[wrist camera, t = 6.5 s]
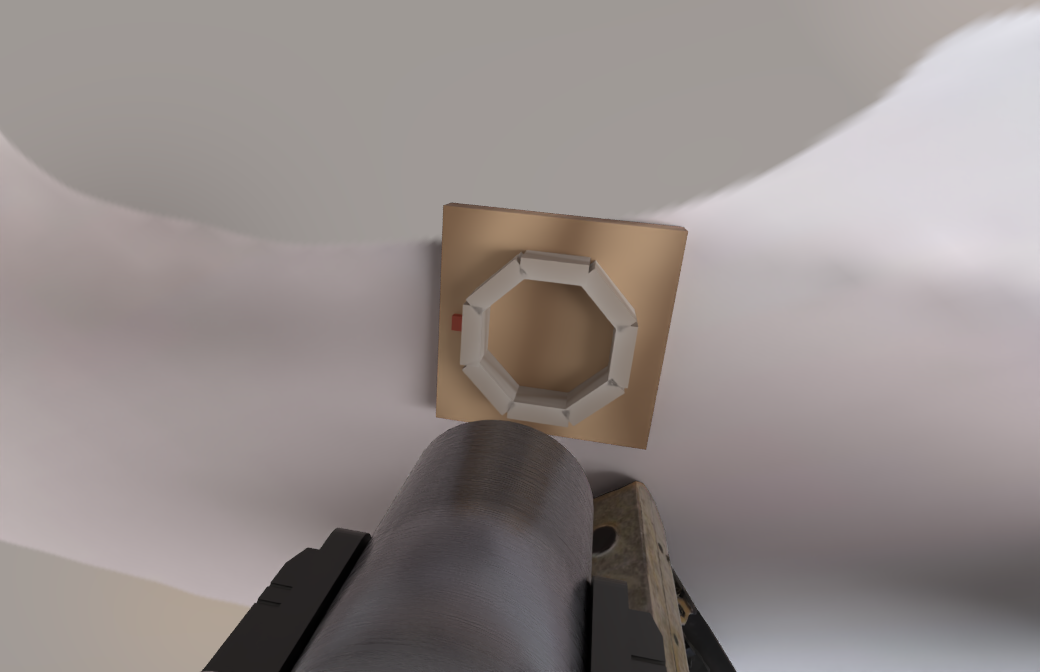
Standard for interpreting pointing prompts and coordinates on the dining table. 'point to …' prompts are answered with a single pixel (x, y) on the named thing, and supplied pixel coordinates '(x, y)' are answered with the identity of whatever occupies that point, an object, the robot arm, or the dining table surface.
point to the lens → (471, 564)
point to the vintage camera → (652, 577)
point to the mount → (555, 320)
